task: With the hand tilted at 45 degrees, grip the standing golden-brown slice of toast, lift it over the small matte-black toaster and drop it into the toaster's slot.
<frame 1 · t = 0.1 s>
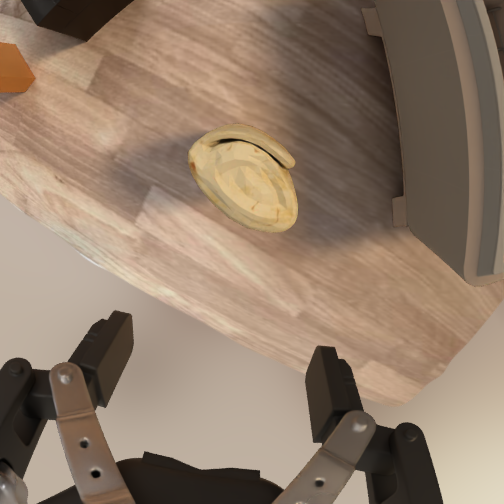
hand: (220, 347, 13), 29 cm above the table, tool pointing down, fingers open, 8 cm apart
food model: (253, 154, 38), on the table
toast: (19, 67, 31), on the table
toaster: (440, 102, 33), on the table
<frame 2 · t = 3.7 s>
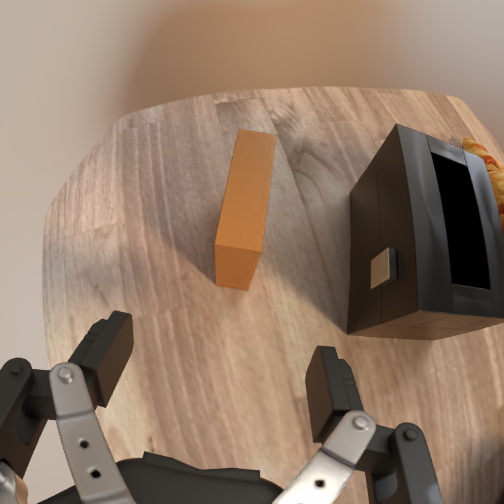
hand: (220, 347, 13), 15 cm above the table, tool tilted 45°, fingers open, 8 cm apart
slot toaster: (394, 265, 31), on the table
croissant: (486, 198, 37), on the table
toast: (239, 239, 30), on the table
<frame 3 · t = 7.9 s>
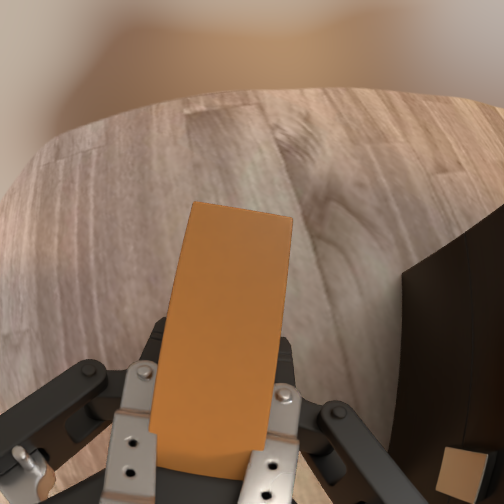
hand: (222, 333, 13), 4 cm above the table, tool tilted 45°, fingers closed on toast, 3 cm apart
slot toaster: (455, 385, 17), on the table
toast: (217, 374, 16), on the table, touching gripper
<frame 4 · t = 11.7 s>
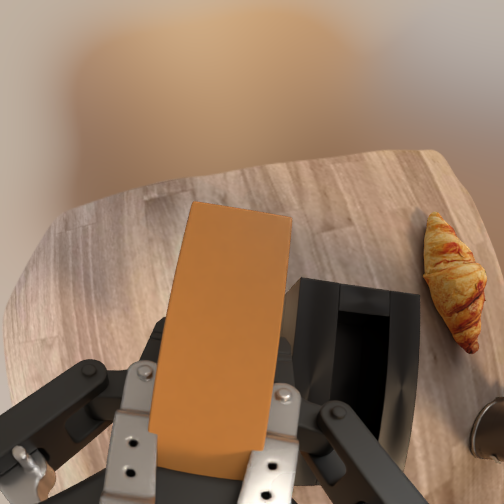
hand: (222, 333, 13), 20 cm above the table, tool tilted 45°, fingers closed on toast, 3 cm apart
slot toaster: (312, 383, 31), on the table
croissant: (446, 284, 38), on the table
toast: (217, 374, 16), point 16 cm above the table, touching gripper
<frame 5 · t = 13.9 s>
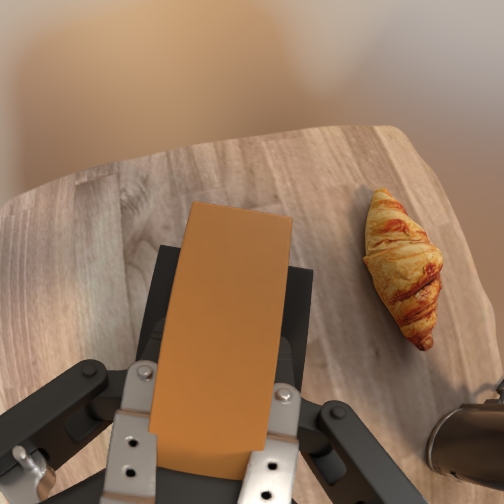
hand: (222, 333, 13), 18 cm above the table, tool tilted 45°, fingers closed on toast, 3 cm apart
slot toaster: (219, 370, 30), on the table
croissant: (396, 270, 36), on the table
toast: (217, 374, 16), point 14 cm above the table, touching gripper
when the fingers open (13 cm above the table, at t = 15.8 s): toast drops 2 cm, resting on slot toaster.
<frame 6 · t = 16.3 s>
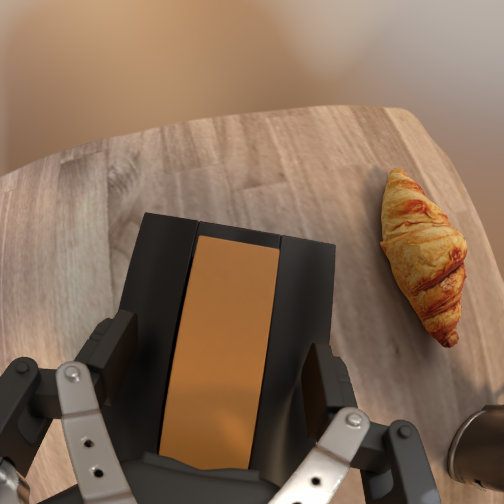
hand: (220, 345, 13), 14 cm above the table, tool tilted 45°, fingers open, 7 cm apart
slot toaster: (217, 372, 25), on the table
croissant: (415, 258, 31), on the table
toast: (217, 374, 19), point 7 cm above the table, touching slot toaster
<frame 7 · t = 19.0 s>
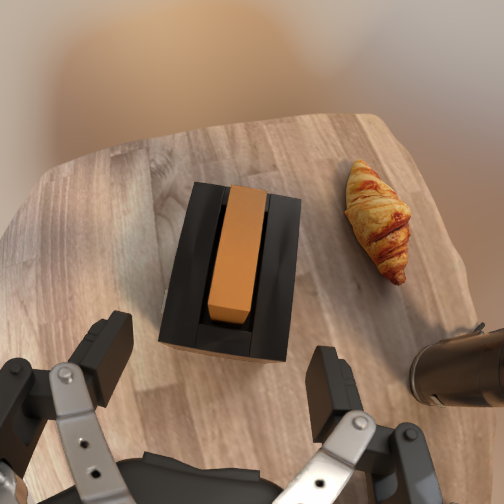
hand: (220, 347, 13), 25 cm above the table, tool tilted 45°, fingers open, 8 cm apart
slot toaster: (230, 294, 39), on the table
croissant: (373, 223, 45), on the table
toast: (233, 279, 32), point 7 cm above the table, touching slot toaster
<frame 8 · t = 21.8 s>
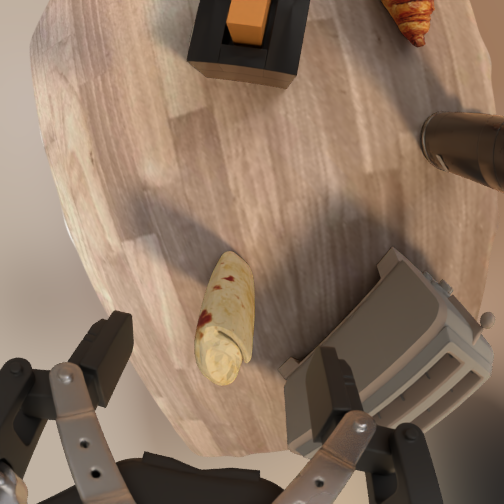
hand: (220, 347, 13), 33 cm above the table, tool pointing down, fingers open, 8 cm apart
food model: (234, 274, 49), on the table
slot toaster: (256, 31, 34), on the table
toast: (255, 14, 27), point 7 cm above the table, touching slot toaster
toaster: (374, 330, 53), on the table
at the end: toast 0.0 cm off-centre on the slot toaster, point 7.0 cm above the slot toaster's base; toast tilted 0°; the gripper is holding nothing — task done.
